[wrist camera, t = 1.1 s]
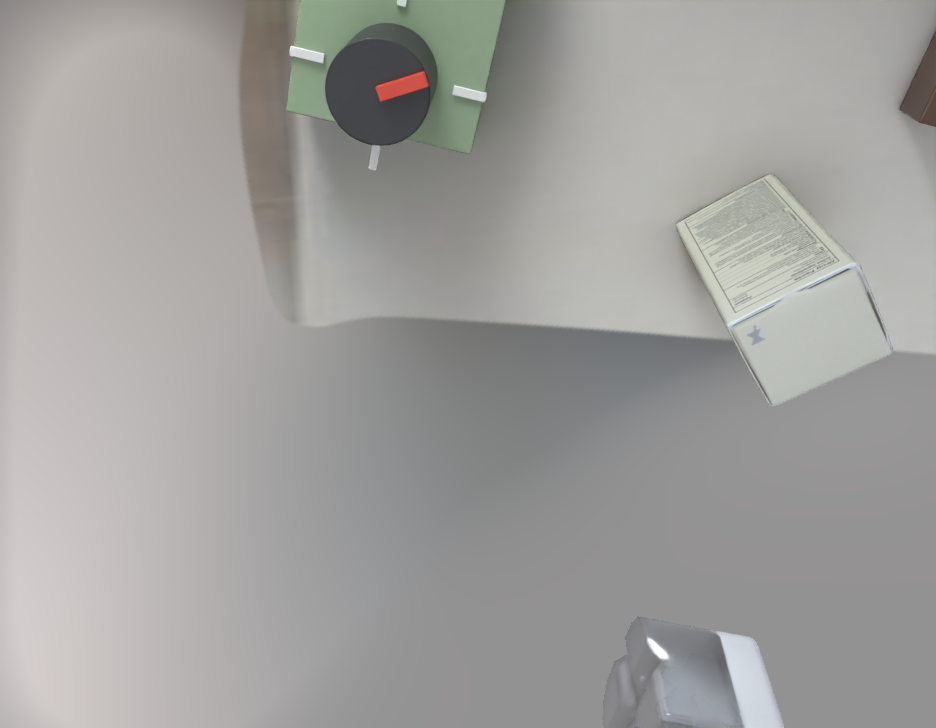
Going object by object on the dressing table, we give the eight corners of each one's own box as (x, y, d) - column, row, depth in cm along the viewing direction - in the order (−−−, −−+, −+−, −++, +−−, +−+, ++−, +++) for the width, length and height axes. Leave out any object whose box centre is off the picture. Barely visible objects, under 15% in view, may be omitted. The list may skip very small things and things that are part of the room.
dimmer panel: (334, -186, 34) (318, -191, 31) (537, -133, 35) (539, -133, 32) (294, 128, 40) (278, 148, 38) (468, 169, 41) (464, 191, 38)
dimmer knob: (361, 134, 37) (345, 160, 34) (326, 39, 35) (306, 57, 32) (450, 107, 37) (443, 131, 33) (419, 9, 35) (409, 24, 31)
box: (708, 292, 43) (763, 414, 34) (672, 221, 42) (718, 327, 32) (811, 243, 42) (899, 355, 32) (777, 167, 40) (860, 261, 31)
